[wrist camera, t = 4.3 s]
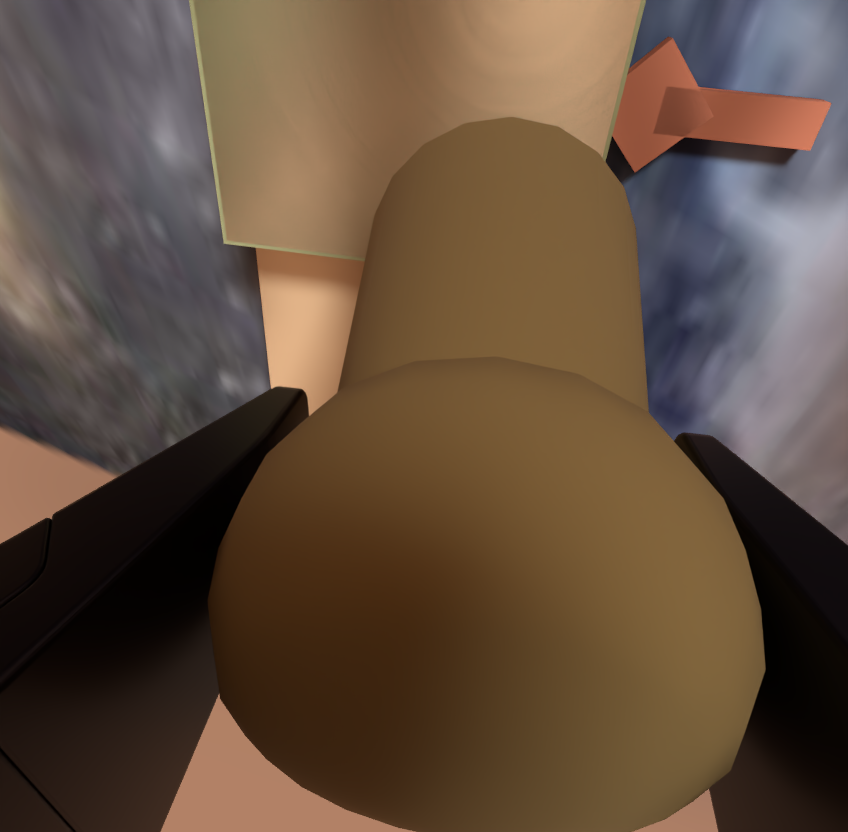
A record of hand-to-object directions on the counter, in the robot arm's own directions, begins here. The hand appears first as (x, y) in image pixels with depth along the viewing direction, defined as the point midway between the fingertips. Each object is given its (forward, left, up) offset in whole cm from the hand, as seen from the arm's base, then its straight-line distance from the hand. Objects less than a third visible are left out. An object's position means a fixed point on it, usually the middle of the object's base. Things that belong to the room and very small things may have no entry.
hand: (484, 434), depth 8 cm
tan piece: (0, +2, -13) cm, 13 cm away
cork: (0, 0, -7) cm, 7 cm away
